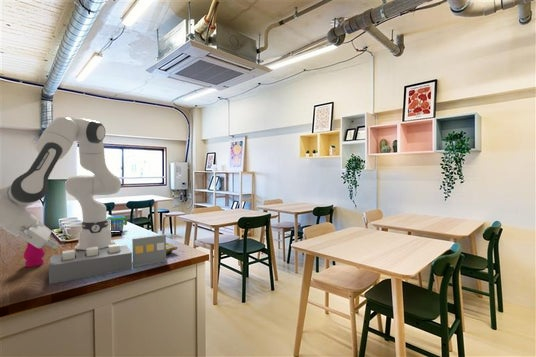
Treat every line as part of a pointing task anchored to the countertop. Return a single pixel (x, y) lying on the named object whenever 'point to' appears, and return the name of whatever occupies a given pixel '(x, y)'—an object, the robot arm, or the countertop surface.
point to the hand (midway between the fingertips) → (57, 246)
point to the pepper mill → (33, 256)
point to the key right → (113, 248)
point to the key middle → (92, 251)
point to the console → (89, 264)
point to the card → (149, 250)
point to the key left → (68, 254)
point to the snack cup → (117, 222)
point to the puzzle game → (170, 248)
